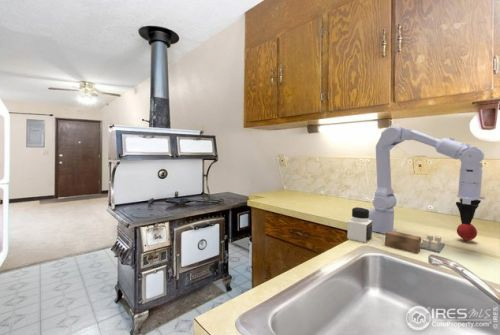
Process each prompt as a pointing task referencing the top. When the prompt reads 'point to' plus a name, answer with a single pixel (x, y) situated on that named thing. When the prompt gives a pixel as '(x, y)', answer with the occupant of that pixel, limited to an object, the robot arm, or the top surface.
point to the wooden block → (403, 241)
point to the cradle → (432, 244)
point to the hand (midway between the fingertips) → (467, 221)
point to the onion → (467, 232)
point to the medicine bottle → (360, 225)
